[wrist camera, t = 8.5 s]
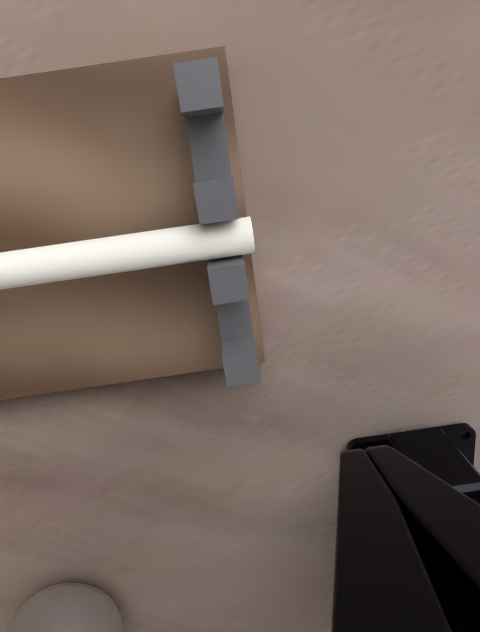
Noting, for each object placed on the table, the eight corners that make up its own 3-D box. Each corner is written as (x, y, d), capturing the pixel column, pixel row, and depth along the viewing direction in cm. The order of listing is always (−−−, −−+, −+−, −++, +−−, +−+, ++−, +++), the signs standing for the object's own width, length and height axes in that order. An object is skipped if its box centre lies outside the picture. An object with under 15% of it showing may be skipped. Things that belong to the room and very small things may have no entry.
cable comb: (253, 342, 18) (260, 382, 15) (225, 346, 18) (227, 387, 15) (217, 81, 14) (217, 57, 11) (183, 86, 14) (173, 63, 11)
